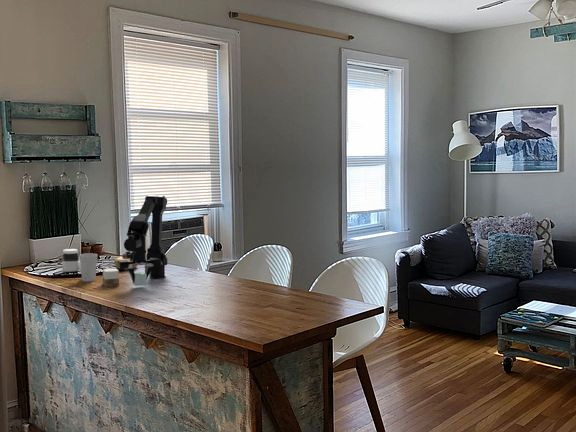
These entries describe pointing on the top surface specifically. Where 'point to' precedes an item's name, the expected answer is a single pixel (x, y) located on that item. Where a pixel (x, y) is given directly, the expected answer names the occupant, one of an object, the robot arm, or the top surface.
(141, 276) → the painted cube
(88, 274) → the cup
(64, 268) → the spread jar
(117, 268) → the pastry
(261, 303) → the top surface
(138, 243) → the robot arm
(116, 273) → the cream slab
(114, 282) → the walnut slab
